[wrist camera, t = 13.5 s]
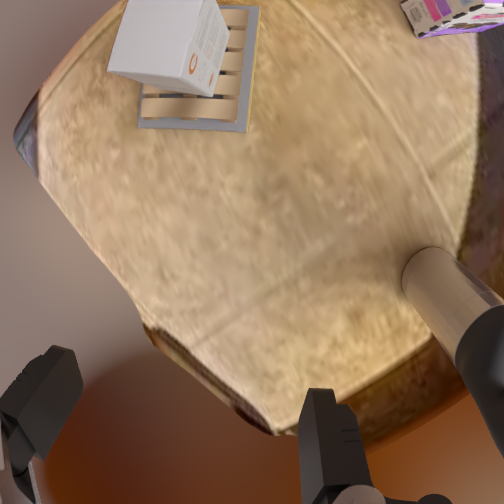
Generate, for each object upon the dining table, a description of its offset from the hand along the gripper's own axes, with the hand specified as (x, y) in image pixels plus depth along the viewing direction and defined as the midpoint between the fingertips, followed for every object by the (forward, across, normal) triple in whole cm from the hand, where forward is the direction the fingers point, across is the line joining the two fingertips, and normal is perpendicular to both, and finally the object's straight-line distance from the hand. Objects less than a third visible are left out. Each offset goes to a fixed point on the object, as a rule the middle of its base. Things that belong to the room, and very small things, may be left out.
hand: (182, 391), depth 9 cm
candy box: (+32, -25, -31) cm, 51 cm away
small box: (+28, +7, -16) cm, 33 cm away
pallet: (+29, +7, -16) cm, 34 cm away
